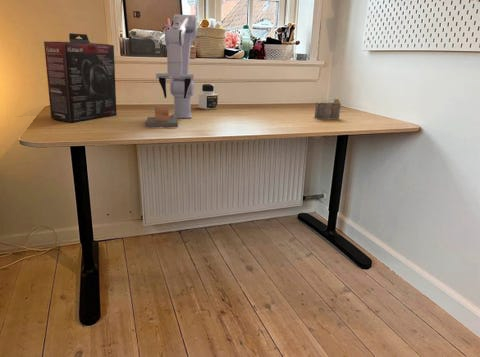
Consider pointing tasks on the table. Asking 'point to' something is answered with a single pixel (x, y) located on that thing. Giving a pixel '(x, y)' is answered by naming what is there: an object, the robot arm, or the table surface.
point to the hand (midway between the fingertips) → (175, 97)
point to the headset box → (80, 79)
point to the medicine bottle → (208, 97)
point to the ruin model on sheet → (328, 109)
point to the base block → (162, 122)
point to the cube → (161, 113)
